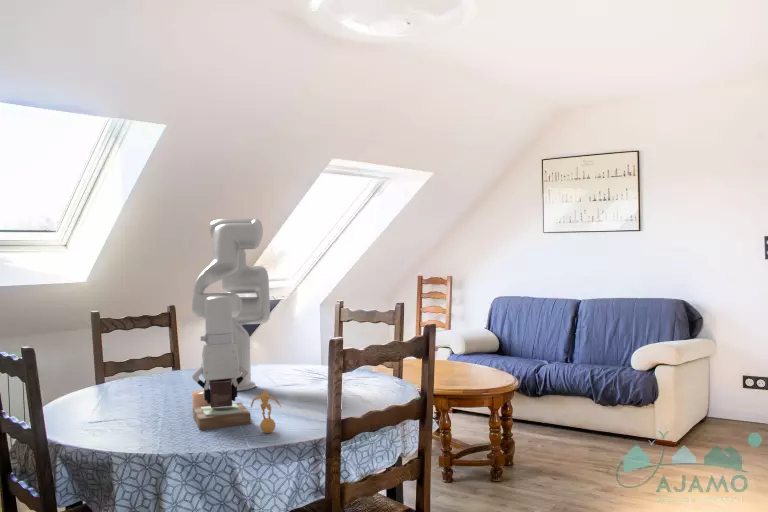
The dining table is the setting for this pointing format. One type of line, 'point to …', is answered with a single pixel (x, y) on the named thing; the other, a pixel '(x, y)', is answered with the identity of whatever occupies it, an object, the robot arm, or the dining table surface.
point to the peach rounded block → (198, 399)
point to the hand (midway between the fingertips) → (221, 400)
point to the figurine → (267, 423)
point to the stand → (221, 416)
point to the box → (221, 393)
